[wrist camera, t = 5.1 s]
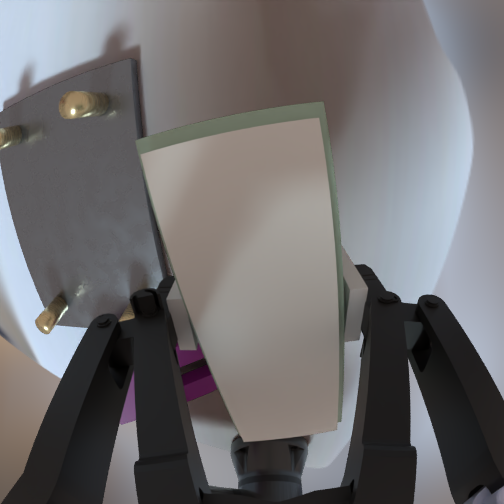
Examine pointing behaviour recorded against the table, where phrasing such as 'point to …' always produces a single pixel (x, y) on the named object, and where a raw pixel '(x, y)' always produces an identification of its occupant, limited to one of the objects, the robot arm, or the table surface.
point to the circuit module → (257, 261)
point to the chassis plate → (82, 195)
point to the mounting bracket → (193, 381)
